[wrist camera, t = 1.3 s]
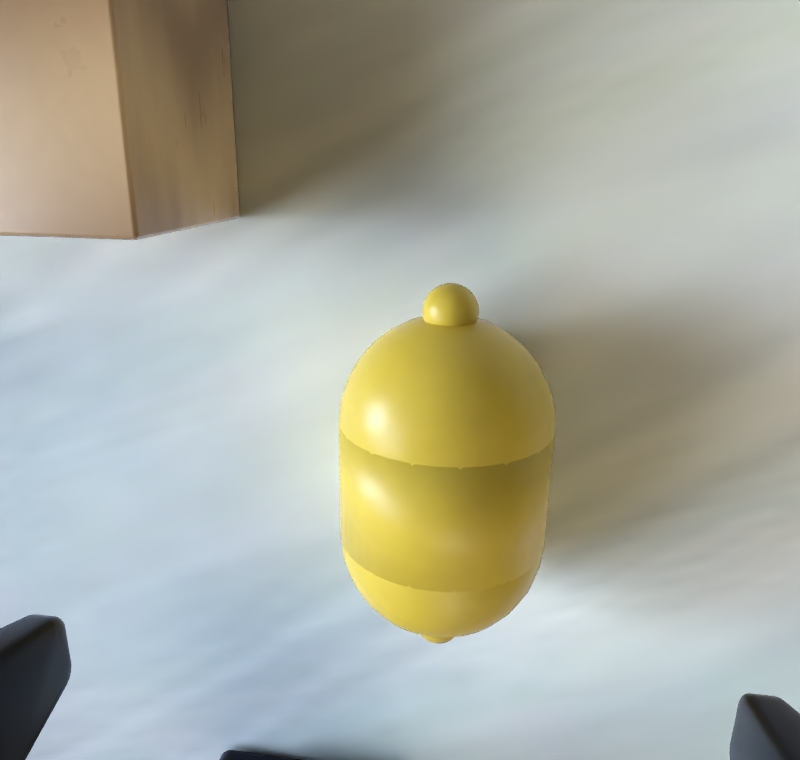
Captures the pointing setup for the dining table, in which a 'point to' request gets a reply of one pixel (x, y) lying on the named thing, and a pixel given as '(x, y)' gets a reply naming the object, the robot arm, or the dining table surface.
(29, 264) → the dining table surface
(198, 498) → the dining table surface
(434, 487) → the lemon
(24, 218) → the maple block
